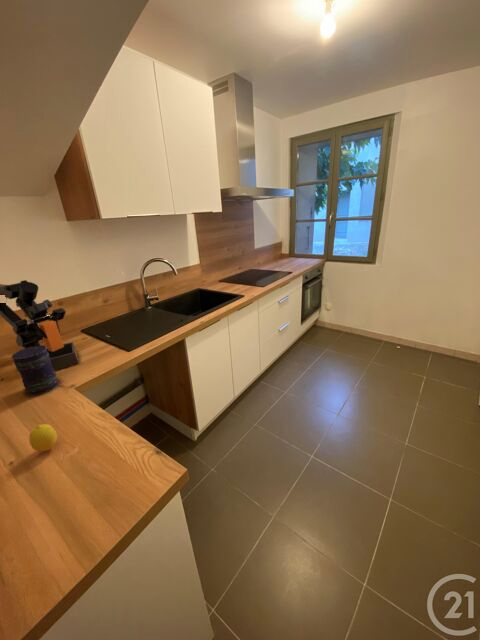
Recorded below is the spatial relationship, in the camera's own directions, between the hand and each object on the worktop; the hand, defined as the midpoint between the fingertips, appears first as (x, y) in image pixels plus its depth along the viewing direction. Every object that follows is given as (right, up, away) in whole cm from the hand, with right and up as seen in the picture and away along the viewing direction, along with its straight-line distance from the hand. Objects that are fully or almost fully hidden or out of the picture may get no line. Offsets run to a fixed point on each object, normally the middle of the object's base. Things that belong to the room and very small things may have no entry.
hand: (53, 335), depth 109 cm
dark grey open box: (-1, -12, +5) cm, 13 cm away
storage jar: (+5, -19, -12) cm, 23 cm away
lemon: (+27, -28, -39) cm, 56 cm away
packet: (-1, -6, +3) cm, 7 cm away
